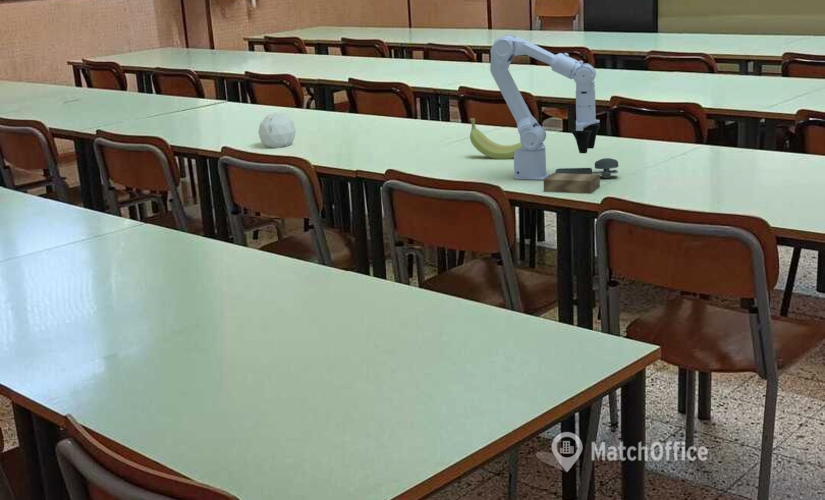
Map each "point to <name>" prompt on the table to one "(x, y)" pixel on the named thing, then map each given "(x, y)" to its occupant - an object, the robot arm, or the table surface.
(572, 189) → the walnut block
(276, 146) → the geodesic sphere
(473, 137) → the banana
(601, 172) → the can opener
